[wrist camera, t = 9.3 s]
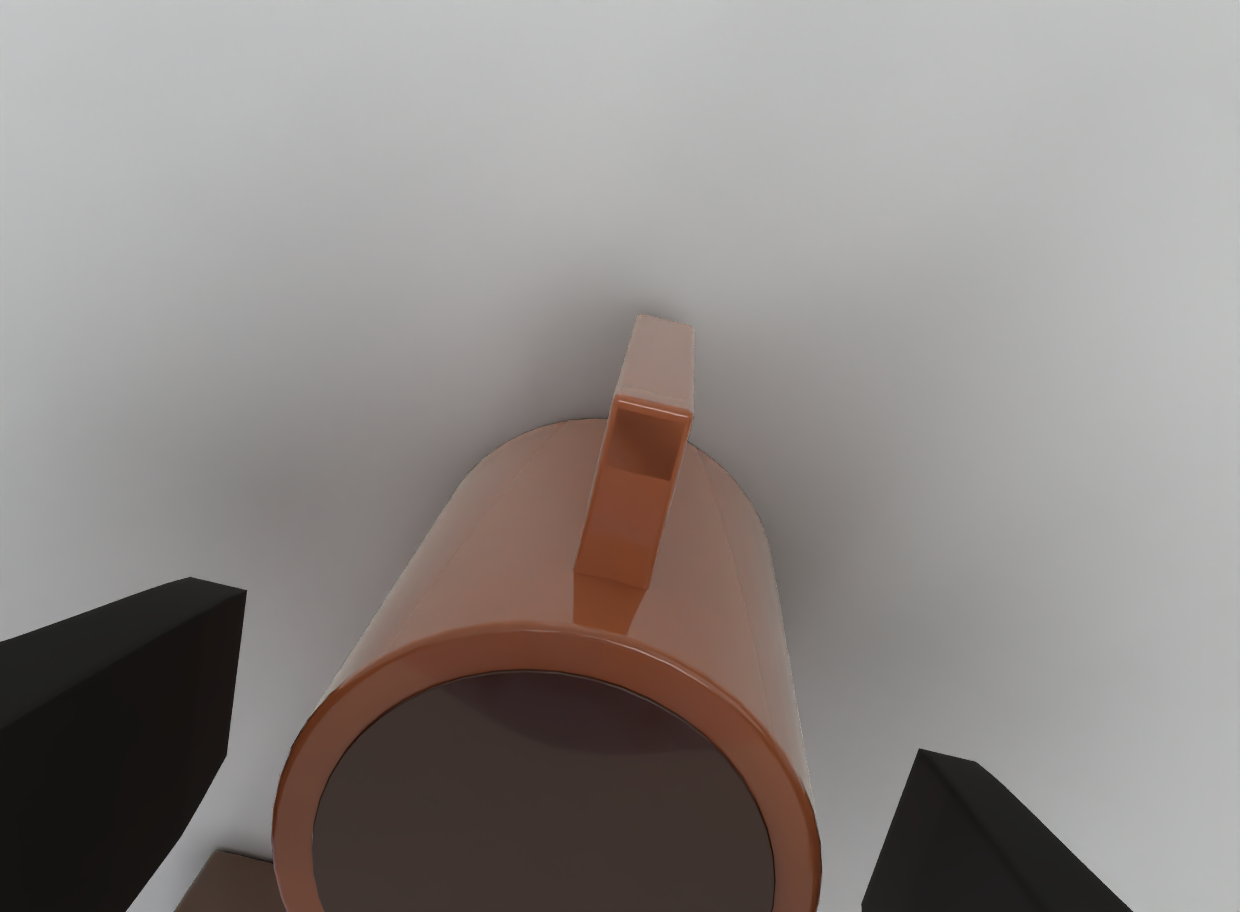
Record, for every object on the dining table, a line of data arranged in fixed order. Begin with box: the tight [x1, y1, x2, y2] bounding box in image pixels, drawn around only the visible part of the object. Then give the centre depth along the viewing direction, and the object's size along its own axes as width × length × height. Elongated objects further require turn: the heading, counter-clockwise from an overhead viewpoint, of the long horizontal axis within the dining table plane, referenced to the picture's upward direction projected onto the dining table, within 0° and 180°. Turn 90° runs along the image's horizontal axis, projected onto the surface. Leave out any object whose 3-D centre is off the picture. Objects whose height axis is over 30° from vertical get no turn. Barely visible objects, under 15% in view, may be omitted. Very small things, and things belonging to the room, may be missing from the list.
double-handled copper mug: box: [271, 314, 822, 912], centre depth 12 cm, size 5×7×6 cm, turn 167°
